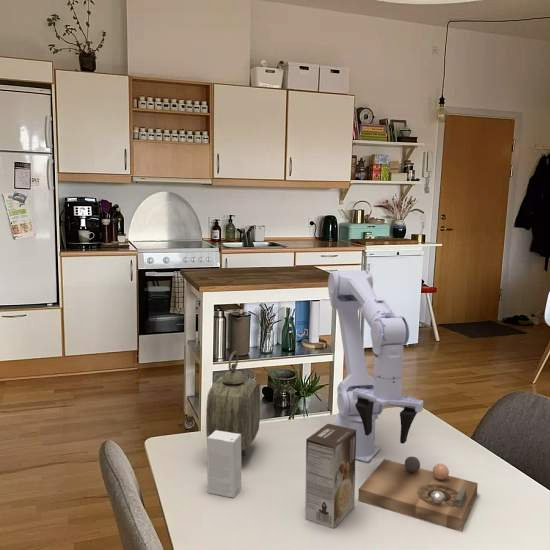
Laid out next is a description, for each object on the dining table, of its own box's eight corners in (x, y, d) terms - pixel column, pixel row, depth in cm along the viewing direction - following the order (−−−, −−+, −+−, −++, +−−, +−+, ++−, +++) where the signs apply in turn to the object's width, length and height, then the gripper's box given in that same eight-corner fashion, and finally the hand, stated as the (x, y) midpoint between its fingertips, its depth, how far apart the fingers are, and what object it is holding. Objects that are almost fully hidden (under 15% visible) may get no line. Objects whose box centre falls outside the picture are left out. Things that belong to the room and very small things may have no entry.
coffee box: (325, 497, 114) (327, 421, 111) (355, 506, 110) (357, 429, 108) (303, 519, 106) (305, 438, 104) (334, 530, 103) (336, 446, 100)
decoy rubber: (402, 472, 119) (402, 458, 119) (406, 466, 122) (407, 452, 121) (417, 476, 117) (417, 462, 117) (421, 470, 120) (422, 456, 120)
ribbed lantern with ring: (225, 441, 139) (225, 342, 135) (260, 444, 137) (261, 345, 134) (206, 468, 125) (205, 359, 121) (245, 472, 123) (246, 362, 120)
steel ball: (432, 512, 110) (424, 498, 110) (436, 502, 113) (428, 488, 113) (446, 510, 108) (439, 495, 108) (450, 500, 111) (443, 485, 111)
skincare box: (242, 488, 117) (242, 433, 115) (233, 498, 113) (234, 442, 111) (215, 483, 119) (215, 429, 117) (206, 493, 115) (206, 437, 113)
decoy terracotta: (430, 480, 116) (431, 465, 116) (434, 473, 119) (435, 459, 118) (446, 484, 114) (447, 469, 114) (450, 477, 117) (450, 463, 117)
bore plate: (358, 500, 113) (359, 481, 112) (383, 469, 125) (384, 452, 125) (460, 531, 103) (462, 511, 102) (476, 494, 115) (478, 476, 115)
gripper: (347, 374, 116) (345, 436, 118) (417, 386, 109) (414, 453, 110) (360, 365, 122) (358, 425, 124) (427, 376, 115) (424, 440, 117)
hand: (385, 437), depth 118 cm, fingers open, 7 cm apart
